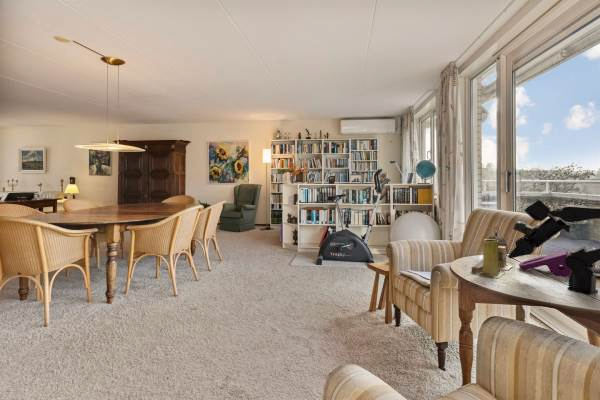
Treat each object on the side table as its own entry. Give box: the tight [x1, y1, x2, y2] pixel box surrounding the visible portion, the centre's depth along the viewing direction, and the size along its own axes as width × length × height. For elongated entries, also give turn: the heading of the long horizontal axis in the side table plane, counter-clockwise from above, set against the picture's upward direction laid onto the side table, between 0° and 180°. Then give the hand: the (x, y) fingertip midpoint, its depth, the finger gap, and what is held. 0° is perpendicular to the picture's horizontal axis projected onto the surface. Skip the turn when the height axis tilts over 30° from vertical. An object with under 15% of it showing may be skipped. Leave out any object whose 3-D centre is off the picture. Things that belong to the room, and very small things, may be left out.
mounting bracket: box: [518, 249, 572, 278], centre depth 138 cm, size 10×8×18 cm
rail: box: [471, 246, 514, 279], centre depth 142 cm, size 11×24×9 cm, turn 134°
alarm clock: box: [487, 226, 508, 255], centre depth 159 cm, size 11×5×16 cm, turn 179°
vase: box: [482, 238, 499, 276], centre depth 136 cm, size 6×6×14 cm
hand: (512, 255), depth 131 cm, fingers open, 9 cm apart
